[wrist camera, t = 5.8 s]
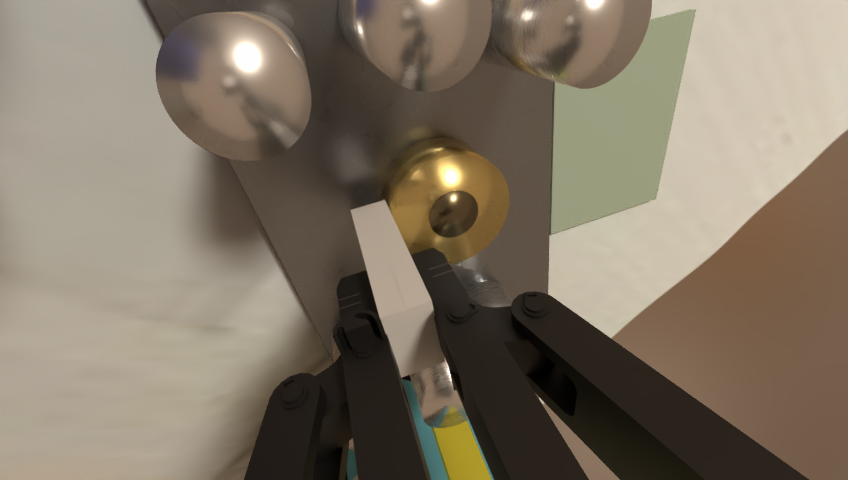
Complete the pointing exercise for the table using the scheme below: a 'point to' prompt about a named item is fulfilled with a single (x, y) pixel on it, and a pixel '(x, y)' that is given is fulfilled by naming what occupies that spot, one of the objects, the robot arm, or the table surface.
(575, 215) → the mat
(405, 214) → the gold round knob
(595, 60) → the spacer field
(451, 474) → the carton
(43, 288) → the table surface
